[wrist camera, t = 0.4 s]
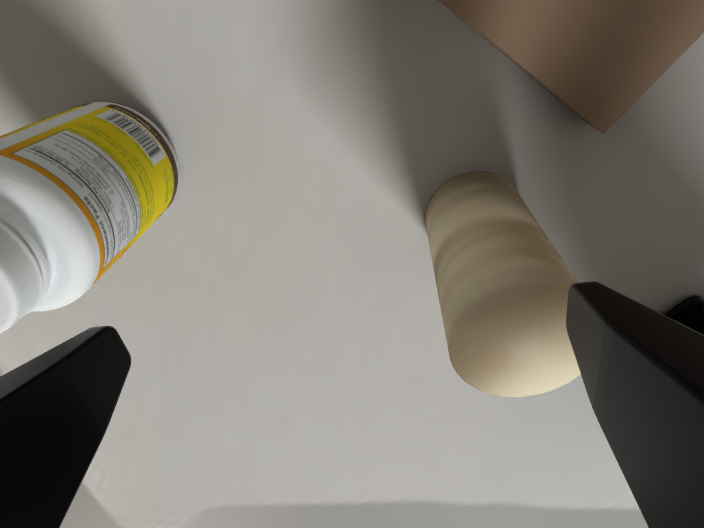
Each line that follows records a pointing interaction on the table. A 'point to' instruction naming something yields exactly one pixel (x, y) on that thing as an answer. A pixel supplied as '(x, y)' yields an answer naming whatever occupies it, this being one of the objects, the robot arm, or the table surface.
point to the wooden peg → (499, 288)
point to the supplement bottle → (76, 201)
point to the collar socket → (588, 45)
